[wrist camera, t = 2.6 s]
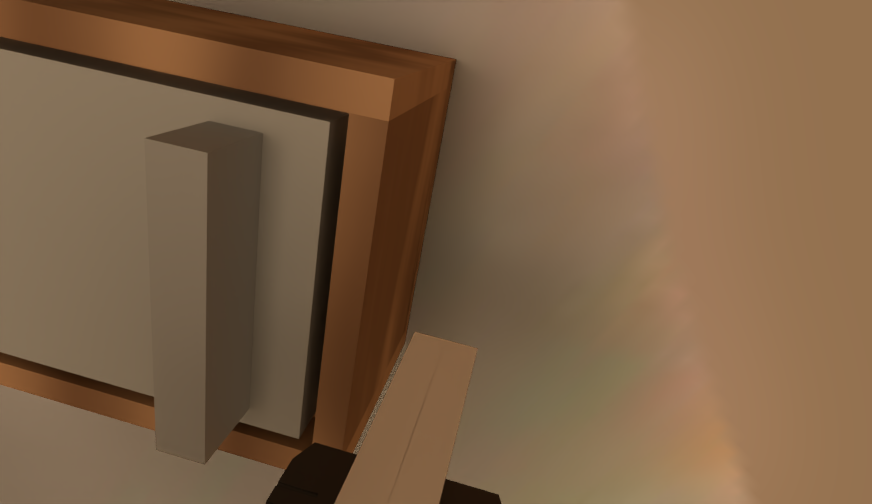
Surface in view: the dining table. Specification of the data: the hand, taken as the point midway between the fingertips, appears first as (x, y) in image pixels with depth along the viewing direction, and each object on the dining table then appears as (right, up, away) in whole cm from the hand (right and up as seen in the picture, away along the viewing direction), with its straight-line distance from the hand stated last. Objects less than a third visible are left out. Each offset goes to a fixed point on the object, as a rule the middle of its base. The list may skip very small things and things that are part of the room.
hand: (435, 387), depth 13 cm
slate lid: (-11, +4, +5) cm, 13 cm away
